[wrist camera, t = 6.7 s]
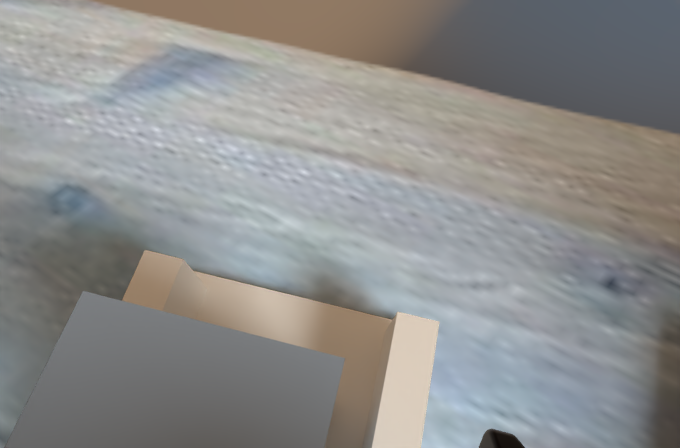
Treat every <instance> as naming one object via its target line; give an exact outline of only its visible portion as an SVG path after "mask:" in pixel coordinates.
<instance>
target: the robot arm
mask: <svg viewBox="0 0 680 448" xmlns="http://www.w3.org/2000/svg"><path fill="white" fill-rule="evenodd" d="M479 448H525V447H524V446H523V445H522V444H521V442H520V441H519V440H518V439H517V438H516V437H515V436H514V435H512V434H510V433H506V432H502V431H499V430H495V429H489V430H487V431H486V432H485V434H484V436H483V438H482V441H481V443H480V446H479Z"/></svg>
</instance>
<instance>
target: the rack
mask: <svg viewBox="0 0 680 448" xmlns="http://www.w3.org/2000/svg"><path fill="white" fill-rule="evenodd" d="M122 301H125V302H129V303H133V304H137V305H141V306H144V307H148V308H152V309H156V310H160V311H164V312H168V313H172V314H176V315H179V316H183V317H187V318H191V319H195V320H199V321H203V322H207V323H210V324H214V325H218V326H222V327H226V328H230V329H234V330H238V331H241V332H245V333H249V334H253V335H257V336H261V337H265V338H269V339H273V340H276V341H280V342H284V343H288V344H292V345H296V346H300V347H304V348H307V349H311V350H315V351H319V352H323V353H327V354H331V355H335V356H339V357H342V358H345V361H344V365H343V370H342V374H341V378H340V383H339V387H338V391H337V396H336V400H335V404H334V408H333V413H332V417H331V421H330V426H329V430H328V434H327V439H326V443H325V447H324V448H421V443H422V436H423V429H424V422H425V416H426V409H427V402H428V395H429V389H430V382H431V375H432V368H433V362H434V355H435V348H436V342H437V335H438V328H439V322H438V321H434V320H430V319H426V318H422V317H418V316H413V315H409V314H405V313H401V312H397V313H396V315H395V317H394V318H393V320H391V319H387V318H383V317H379V316H375V315H371V314H367V313H363V312H359V311H355V310H351V309H347V308H343V307H339V306H335V305H330V304H326V303H322V302H318V301H314V300H310V299H306V298H302V297H298V296H294V295H290V294H286V293H282V292H278V291H274V290H269V289H265V288H261V287H257V286H253V285H249V284H245V283H241V282H237V281H233V280H229V279H225V278H221V277H217V276H213V275H209V274H204V273H200V272H196V271H193V270H192V269H191V268H190V267H189V265H188V264H187V263H186V262H185V260H184V259H180V258H176V257H172V256H168V255H164V254H160V253H156V252H152V251H148V250H145V251H144V253H143V255H142V257H141V260H140V262H139V264H138V266H137V268H136V271H135V273H134V275H133V277H132V279H131V282H130V284H129V286H128V288H127V290H126V292H125V295H124V297H123V299H122Z"/></svg>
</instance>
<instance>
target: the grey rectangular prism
mask: <svg viewBox="0 0 680 448" xmlns="http://www.w3.org/2000/svg"><path fill="white" fill-rule="evenodd" d="M344 361H345V358H342V357H339V356H335V355H331V354H327V353H323V352H319V351H315V350H311V349H307V348H304V347H300V346H296V345H292V344H288V343H284V342H280V341H276V340H273V339H269V338H265V337H261V336H257V335H253V334H249V333H245V332H241V331H238V330H234V329H230V328H226V327H222V326H218V325H214V324H210V323H207V322H203V321H199V320H195V319H191V318H187V317H183V316H179V315H176V314H172V313H168V312H164V311H160V310H156V309H152V308H148V307H144V306H141V305H137V304H133V303H129V302H125V301H121V300H117V299H113V298H110V297H106V296H102V295H98V294H94V293H90V292H86V291H83V292H82V294H81V296H80V298H79V300H78V302H77V304H76V306H75V308H74V310H73V312H72V314H71V316H70V318H69V320H68V322H67V324H66V326H65V328H64V330H63V332H62V334H61V336H60V338H59V340H58V342H57V344H56V346H55V348H54V350H53V352H52V354H51V356H50V358H49V360H48V362H47V364H46V366H45V368H44V370H43V372H42V374H41V376H40V378H39V380H38V382H37V384H36V386H35V388H34V390H33V392H32V394H31V396H30V398H29V400H28V402H27V404H26V406H25V408H24V410H23V412H22V414H21V416H20V418H19V420H18V422H17V424H16V426H15V428H14V430H13V432H12V434H11V436H10V438H9V440H8V442H7V444H6V446H5V448H324V447H325V443H326V439H327V434H328V430H329V426H330V421H331V417H332V413H333V408H334V404H335V400H336V396H337V391H338V387H339V383H340V378H341V374H342V370H343V365H344Z"/></svg>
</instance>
